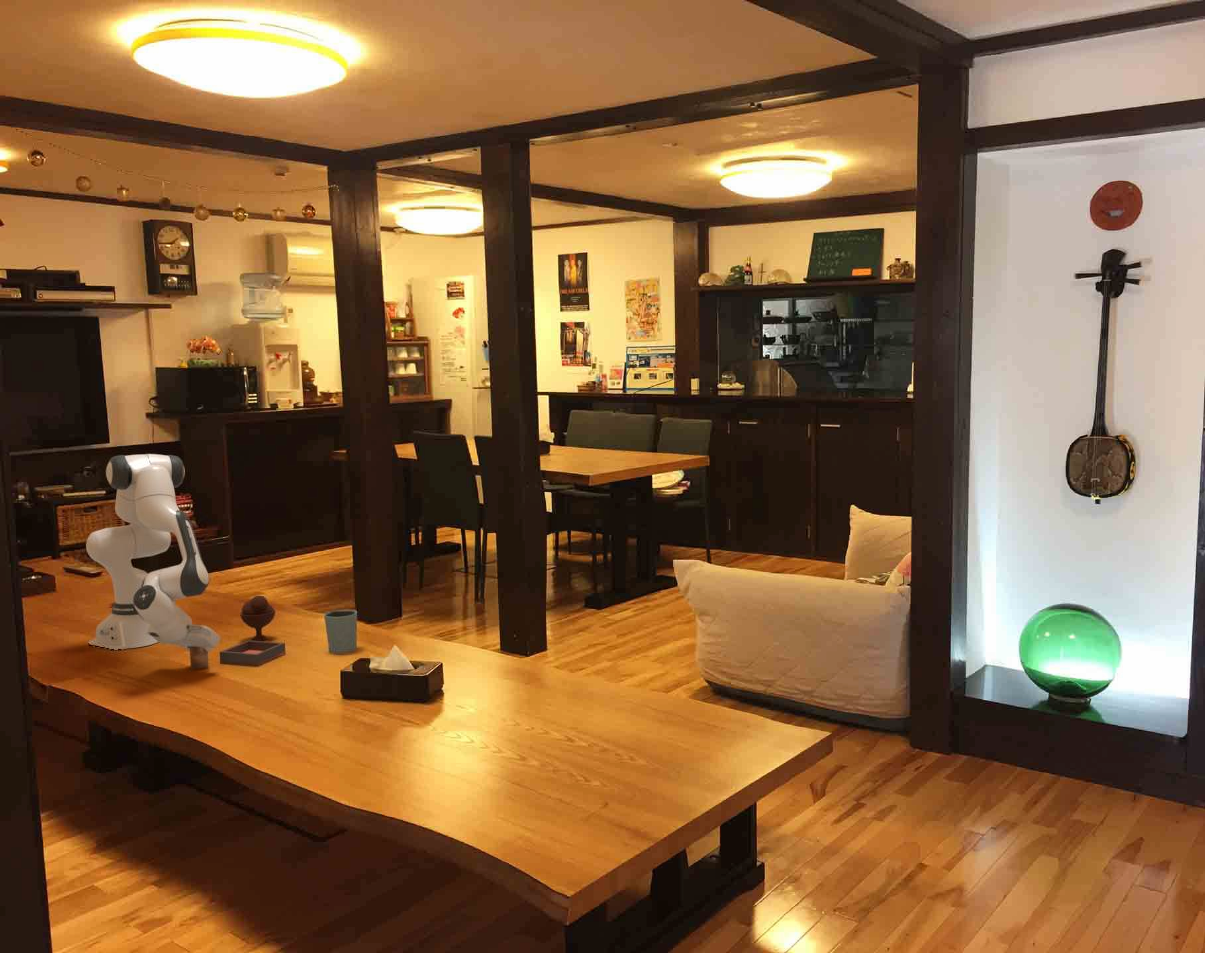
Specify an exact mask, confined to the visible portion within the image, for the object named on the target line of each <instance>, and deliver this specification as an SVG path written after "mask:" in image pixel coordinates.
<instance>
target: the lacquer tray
mask: <svg viewBox="0 0 1205 953" xmlns="http://www.w3.org/2000/svg"><path fill="white" fill-rule="evenodd" d="M284 654H285V655H286V643H285V642H276V641H275V642H273V641H251V639H250V640H249V639H248V640H245V641H243V642H241V643H238V644H236V645H234V646H231V647H228V648H226V649H224V650H221V651H219V663H220V664H224V663H227V664H226V665H235V664H236V665H237V666H247V665H254V666H253V667H260V666H262V665H265V664H267V663H269V662H271V661H273V660H275V659H277V657H278V658H280V657H282V656H284ZM268 661H269V662H268ZM264 663H265V664H264ZM259 665H260V666H259Z"/></svg>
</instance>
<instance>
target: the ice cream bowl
mask: <svg viewBox="0 0 1205 953" xmlns="http://www.w3.org/2000/svg"><path fill="white" fill-rule="evenodd" d="M239 614H240V618H241V619H242V622H243V623H244V624H245V625H247V626H248V627H250V628H251V629H252V628H253V629H255V633H256V634H255V635H254V636H253V637H252V638H250V640H251V641H264V642H268V640H269V638H268V637H267V636H266V635H263V632H262V630H263V628H264V627H267V625H269V624H271V622H272V621H273V620H274V618H275V616H276V610H275V609H274V607H273V606H272V605H271V604H270V603H269V602H268V599H267V598H266V597H265V596H264V595H255V596H254V597H252V598H251V599H249V600H248V601H246V602H245V603H244V604H243V606H242V607H241V612H240V613H239Z"/></svg>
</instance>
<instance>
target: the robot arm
mask: <svg viewBox="0 0 1205 953" xmlns="http://www.w3.org/2000/svg"><path fill="white" fill-rule="evenodd" d="M185 473H186V471H185V466H184V462H183V460H182V459H181V458H180V457H179V456H177V455H173V454H172V455H171V454H167V455H164V454H157V453H145V454H130V455H124V454H121V455H114V456H112V457H111V458H110V459H109V460H108V463H107V465H106V468H105V476H106V479H107V481H108V482H107V483H108V484H109V486H111V488H113V489H116V498H115V503H114V504H115V505H114V510H115V513H116V515H117V516H118V518H120V519H121V520H122V521H124V522H126V523H129V524H127V525H121V526H113V527H105V528H102V529H98V530H95V531H93V532H91V533H90V534H89V536H88V537H87V539H86V542H85V544H86V545H85V548H86V552H87V554H88V556H89V557H90V558H91V560H93V561H94V562H97V563H98V564H100V565H101V566H102V567H104V569H105V570H106V571H107V572H108V574H109V576H110V578H111V581H112V586H113V593H114V602H113V603H110V604H109V607H108V609H111V611H110V612H111V613H110V614H109V615H108V616H107V617H106V618H104V619H103V620H102V621H101V622H100V623H99V624H97V626H96V629H95V638H93V639H91V640H89V641H88V643H89V644H92V645H97V646H100V647H105V648H104V649H106V648H109V649H108V650H111V649H114V650H113V651H119V650H118V649H121V650H126V649H133V648H134V649H135V648H142V647H146V646H152V645H154V644H157V643H160V644H162V645H170V646H172V645H173V646H179V647H181V648H184V649H185V650H186V651H189V652H190V648H189V646H195V647H203V650H204V651H205V652H208V653H211V651H212V649H215V648H217V647H218V644H219V643H220V641H221V636H220V635H219V634H218V633H217V632H215V631H214V630H213V629H212V628H210V627H208V626H206V625H202V624H200V625H199V624H193V621H192V619H191V617H190V616H189V615H188V614H187V613H186V612H185V611H184V610H183V609H182V608H181V607H179V606H177V605H176V601H177V600H181V599H184V598H191V597H197V596H200V595H203V593H205V591H206V589H207V588H208V586H209V584H210V574H209V572H208V570H207V566H206V565H205V562H204V561H203V558H202V554H201V551H200V547H199V544H198V541H197V538H196V534H195V533H196V532H195V530H194V527H193V525H192V524H193V523H192V521H191V519H190V517H189V516H188V514H187V513H186V512H185V511H183V510H180V509H179V507H178V504H177V500H176V492H175V488H179V486H181V485H182V484H183V481H184V478H185ZM171 533H172V534H173V535H175V537H176V540H177V543H178V546H179V550H180V554H181V558H182V561H181V563H180V564H177V565H173V566H168V567H164V568H160V569H157V570H153V571H150V572H147V571H145V570H142V569H140V568H137V567H134V566H133V564H132V560H133V559H140V558H146V557H153V556H156V555H159V554H162V553H165V552H167V551H168V549H169V547H170V546H171V542H172V535H171ZM100 647H99V648H100Z"/></svg>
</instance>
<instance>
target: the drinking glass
mask: <svg viewBox="0 0 1205 953" xmlns="http://www.w3.org/2000/svg"><path fill="white" fill-rule="evenodd" d="M323 616H324V617H323V618H324V623H325V624H324V625H325V631H326V632H325V633H326V637H327V646H328V647H327V648H328V653H330V654H332V653H333V654H332V655H345V654H344V653H347V654H351V653H354V652H355V651H356V652H357V648H358V643H357V642H358V640H357V639H358V635H357V632H358V611H357V610H354V609H338V610H331V611H328V612H325V613H324V615H323Z"/></svg>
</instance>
